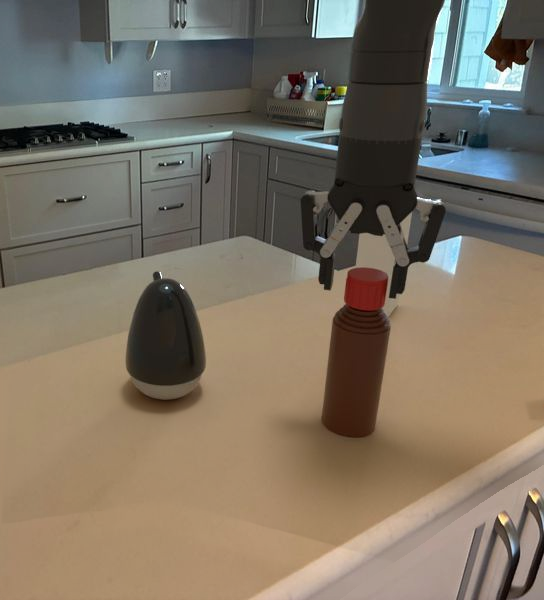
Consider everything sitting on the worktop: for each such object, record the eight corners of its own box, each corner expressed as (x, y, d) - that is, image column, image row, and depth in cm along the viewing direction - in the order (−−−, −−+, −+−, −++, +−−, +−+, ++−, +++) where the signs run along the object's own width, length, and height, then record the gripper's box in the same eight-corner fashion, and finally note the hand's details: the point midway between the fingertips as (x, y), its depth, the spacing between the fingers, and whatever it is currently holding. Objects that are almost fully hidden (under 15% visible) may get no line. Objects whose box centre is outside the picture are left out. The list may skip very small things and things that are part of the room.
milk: (361, 298, 104) (377, 168, 96) (398, 305, 101) (419, 171, 92) (349, 310, 100) (365, 175, 91) (387, 319, 97) (408, 179, 88)
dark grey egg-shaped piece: (194, 364, 85) (195, 261, 79) (214, 405, 76) (217, 292, 69) (121, 372, 84) (116, 267, 77) (133, 415, 74) (128, 300, 68)
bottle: (377, 413, 73) (398, 273, 66) (373, 442, 68) (396, 293, 61) (325, 403, 76) (341, 266, 68) (317, 430, 71) (333, 286, 63)
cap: (346, 293, 68) (349, 265, 67) (385, 298, 67) (389, 269, 65) (341, 307, 65) (345, 278, 63) (383, 313, 63) (387, 283, 62)
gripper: (461, 128, 59) (432, 288, 66) (310, 123, 65) (297, 271, 72) (465, 140, 53) (432, 316, 60) (297, 134, 58) (285, 295, 65)
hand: (359, 291), depth 66 cm, fingers open, 6 cm apart
